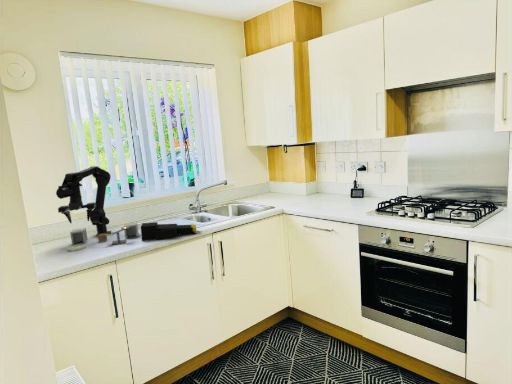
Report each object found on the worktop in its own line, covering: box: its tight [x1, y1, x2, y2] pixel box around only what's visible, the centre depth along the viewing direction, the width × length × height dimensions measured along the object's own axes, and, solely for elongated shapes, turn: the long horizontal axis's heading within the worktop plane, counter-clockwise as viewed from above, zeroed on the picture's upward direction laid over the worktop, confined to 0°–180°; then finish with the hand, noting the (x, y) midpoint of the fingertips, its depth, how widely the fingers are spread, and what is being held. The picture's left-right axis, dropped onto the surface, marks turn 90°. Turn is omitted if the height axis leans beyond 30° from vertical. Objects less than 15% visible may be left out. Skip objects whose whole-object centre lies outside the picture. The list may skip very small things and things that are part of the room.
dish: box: [66, 243, 87, 252], centre depth 197 cm, size 9×9×1 cm
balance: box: [105, 226, 130, 246], centre depth 201 cm, size 5×13×8 cm, turn 104°
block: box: [97, 233, 108, 243], centre depth 209 cm, size 4×4×4 cm
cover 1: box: [69, 227, 89, 246], centre depth 209 cm, size 7×7×7 cm
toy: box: [140, 221, 197, 242], centre depth 207 cm, size 16×8×30 cm
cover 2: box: [123, 222, 140, 240], centre depth 213 cm, size 7×7×7 cm
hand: (79, 222), depth 208 cm, fingers open, 9 cm apart
